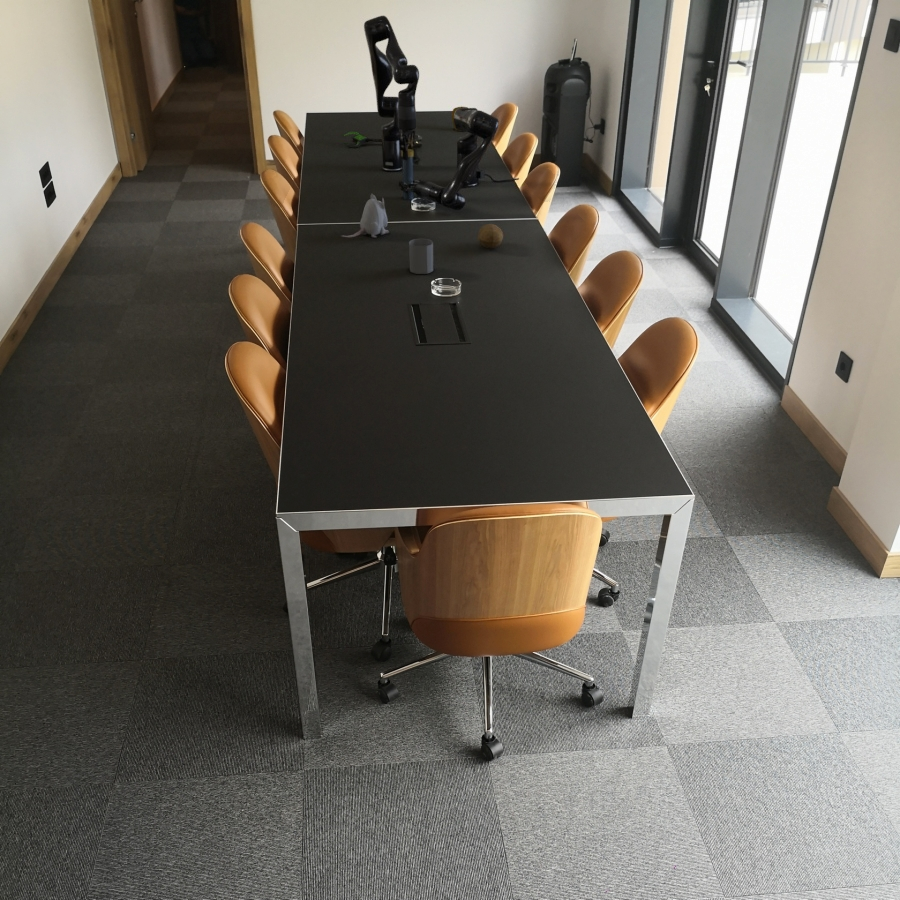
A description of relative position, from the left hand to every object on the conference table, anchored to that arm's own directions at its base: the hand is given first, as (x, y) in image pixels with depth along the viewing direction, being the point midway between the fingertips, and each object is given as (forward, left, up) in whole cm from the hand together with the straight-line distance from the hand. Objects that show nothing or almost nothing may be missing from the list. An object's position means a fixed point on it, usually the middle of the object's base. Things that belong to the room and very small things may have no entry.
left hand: (407, 158), depth 372 cm
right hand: (-1, -3, -11) cm, 11 cm away
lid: (0, 0, +3) cm, 3 cm away
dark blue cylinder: (0, 0, -17) cm, 17 cm away
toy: (+53, +13, -17) cm, 58 cm away
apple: (-125, -42, -17) cm, 133 cm away
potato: (+38, +60, -17) cm, 73 cm away
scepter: (-72, -68, -17) cm, 100 cm away
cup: (+72, +50, -17) cm, 89 cm away
